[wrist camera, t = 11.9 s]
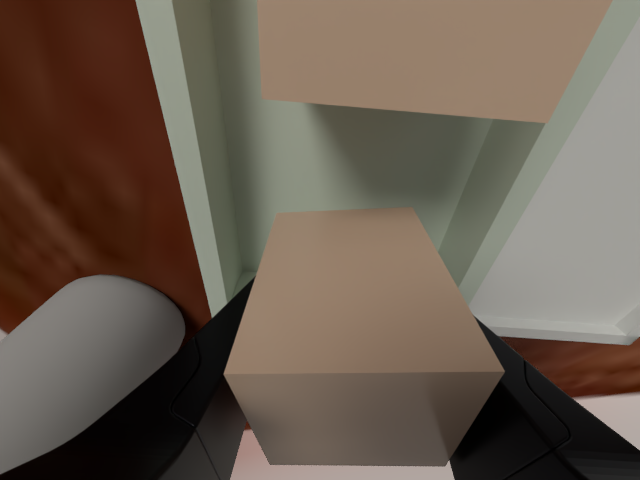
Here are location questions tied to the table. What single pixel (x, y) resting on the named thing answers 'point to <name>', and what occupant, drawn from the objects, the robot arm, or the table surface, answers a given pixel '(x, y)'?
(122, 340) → the cup
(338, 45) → the tan rectangular block
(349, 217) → the tan rectangular block
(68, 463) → the robot arm
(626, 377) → the table surface
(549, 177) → the tray
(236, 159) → the bin
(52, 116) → the table surface
